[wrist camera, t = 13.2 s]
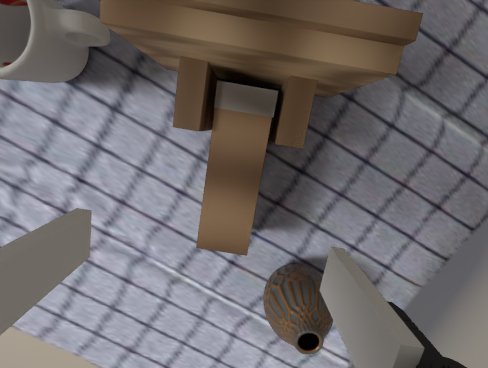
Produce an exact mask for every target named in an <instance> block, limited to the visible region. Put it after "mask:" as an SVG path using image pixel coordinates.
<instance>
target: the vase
mask: <svg viewBox="0 0 488 368" xmlns="http://www.w3.org/2000/svg"><path fill="white" fill-rule="evenodd" d="M321 282H322V278H321V277H320V276H319V275H318V274H317V273H316V272H315V271H313V270H312V269H310V268H309V267H306V266H304V265H300V264H289V265H285V266H282V267H280V268H279V269H277V270H276V271H275V272H274V273H273V274H272V275H271V276H270V278H269V279H268V281H267V284H266V286H265V290H264V310H265V314H266V317H267V320H268V322H269V324H270V326H271V327H272V329H273V330H274V332H275V333H276V334H277V335H278V336H279V337H280V338H281V339H282V340H284V341H285V342H287V343H289V344H291V345H293V346H294V347H295V348H296V349H297V350H298V351H299V352H301V353H303V354H314V353H316V352H318V351H319V350H320V349H321V348H322V345H323V341H324V338H325V337H326V335H327V334H328V332H329V331H330V329H331V326H332V323H333V318H332V316H331V314H330V312H329V310H328V308H327V305H326V303H325V301H324V299H323V297H322V295H321V292H320V286H321Z"/></svg>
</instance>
